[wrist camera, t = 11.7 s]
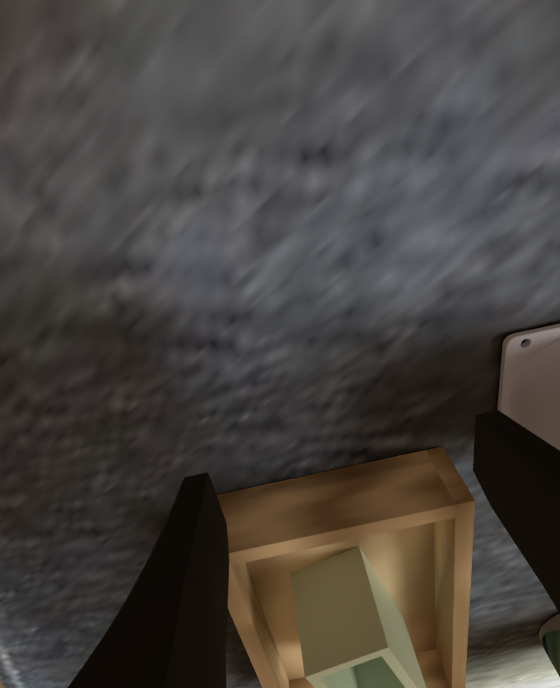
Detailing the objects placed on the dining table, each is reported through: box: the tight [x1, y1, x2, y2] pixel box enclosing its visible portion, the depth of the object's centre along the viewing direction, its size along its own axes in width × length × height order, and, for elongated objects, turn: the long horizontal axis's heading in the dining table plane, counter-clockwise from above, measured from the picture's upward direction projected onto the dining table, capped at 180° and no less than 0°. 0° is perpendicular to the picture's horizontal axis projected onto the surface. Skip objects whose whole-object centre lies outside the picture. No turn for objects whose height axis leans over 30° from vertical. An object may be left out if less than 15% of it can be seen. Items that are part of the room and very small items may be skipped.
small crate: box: [291, 546, 426, 688], centre depth 29 cm, size 5×9×6 cm, turn 25°
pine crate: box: [217, 446, 475, 688], centre depth 31 cm, size 14×22×4 cm, turn 10°
